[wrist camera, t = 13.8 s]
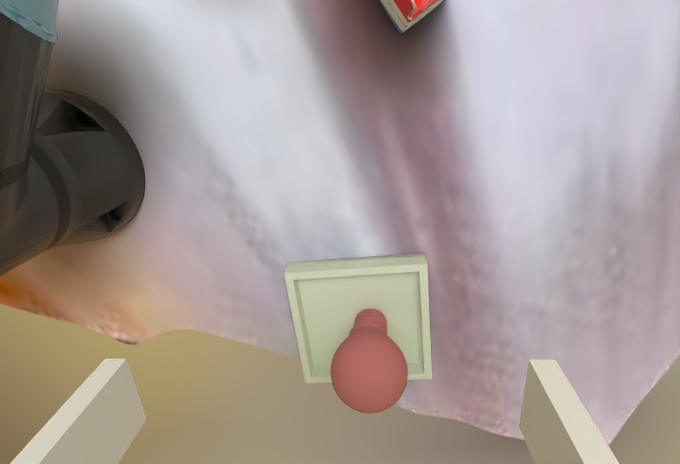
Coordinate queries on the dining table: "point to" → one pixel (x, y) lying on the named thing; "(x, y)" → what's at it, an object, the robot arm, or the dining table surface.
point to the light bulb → (369, 365)
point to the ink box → (408, 11)
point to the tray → (359, 307)
